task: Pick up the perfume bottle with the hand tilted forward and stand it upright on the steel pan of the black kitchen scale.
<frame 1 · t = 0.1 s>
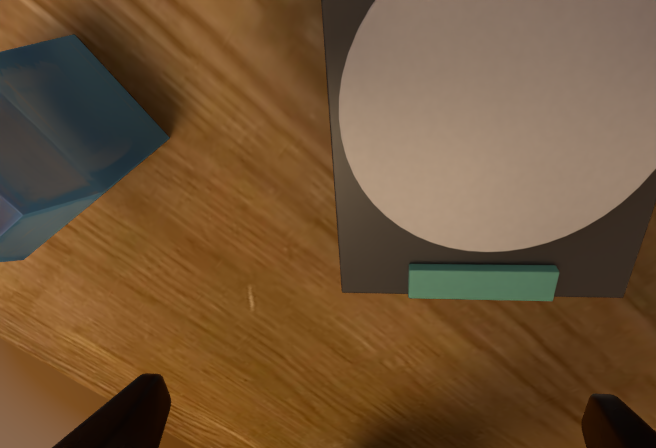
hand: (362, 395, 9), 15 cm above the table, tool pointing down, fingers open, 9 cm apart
kitchen scale: (487, 109, 20), on the table
perfume bottle: (90, 122, 23), on the table
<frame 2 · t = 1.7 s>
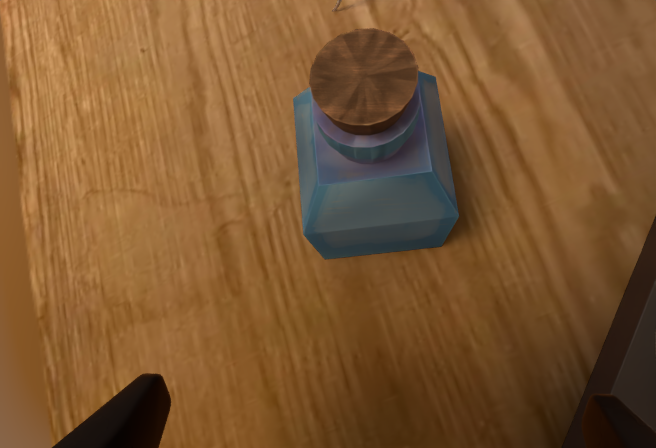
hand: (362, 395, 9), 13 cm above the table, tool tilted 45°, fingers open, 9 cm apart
perfume bottle: (375, 199, 25), on the table
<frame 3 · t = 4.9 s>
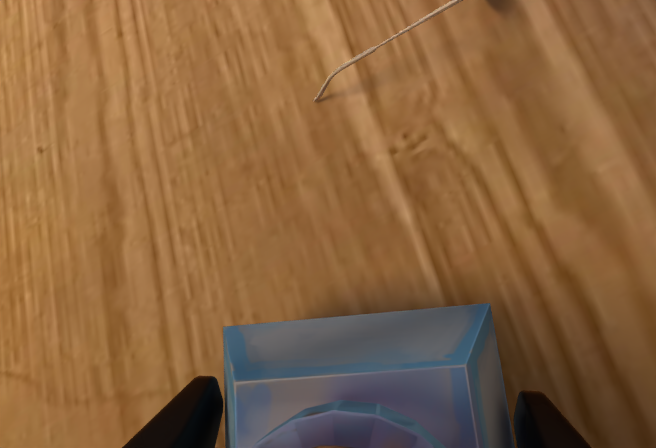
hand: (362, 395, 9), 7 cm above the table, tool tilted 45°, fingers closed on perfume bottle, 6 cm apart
perfume bottle: (374, 413, 16), on the table, touching gripper
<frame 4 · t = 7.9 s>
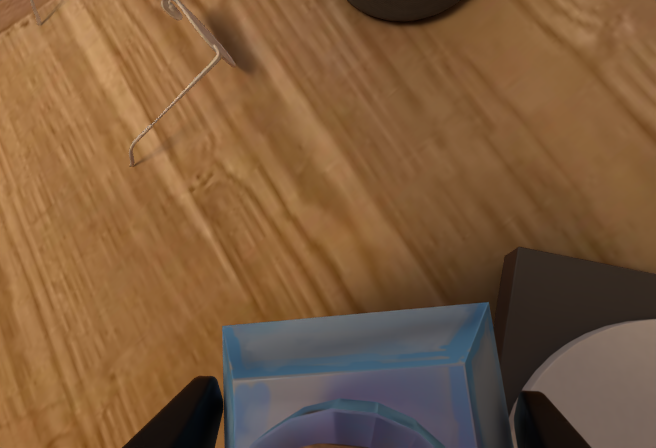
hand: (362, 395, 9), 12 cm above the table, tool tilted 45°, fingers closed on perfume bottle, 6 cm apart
sunglasses: (139, 53, 27), on the table
perfume bottle: (374, 412, 16), point 5 cm above the table, touching gripper
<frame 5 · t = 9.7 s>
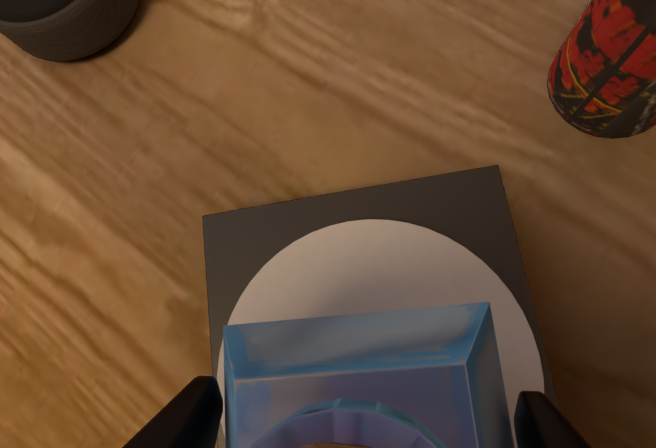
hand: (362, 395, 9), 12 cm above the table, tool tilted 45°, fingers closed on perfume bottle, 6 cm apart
kitchen scale: (377, 387, 21), on the table
perfume bottle: (374, 412, 16), point 5 cm above the table, touching gripper
smart speaker: (84, 9, 29), on the table
deodorant: (607, 86, 23), on the table
when the fingers open (10 cm above the table, at t = 11.2 s): perfume bottle stays where it is, resting on kitchen scale.
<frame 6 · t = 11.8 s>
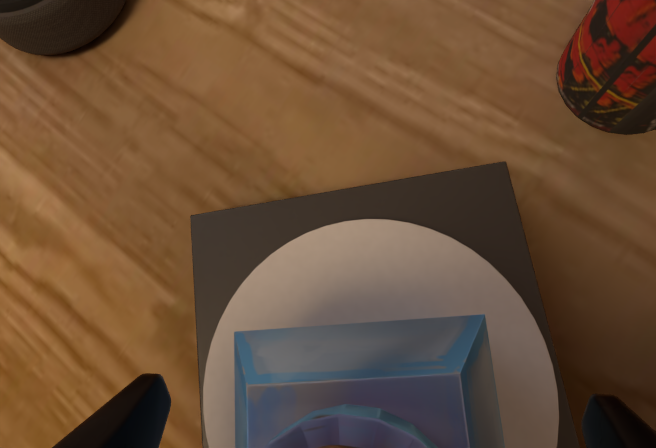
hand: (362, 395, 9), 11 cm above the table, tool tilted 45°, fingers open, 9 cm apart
kitchen scale: (377, 400, 19), on the table
perfume bottle: (375, 414, 16), point 3 cm above the table, touching kitchen scale
smart speaker: (72, 2, 27), on the table
deodorant: (619, 80, 22), on the table
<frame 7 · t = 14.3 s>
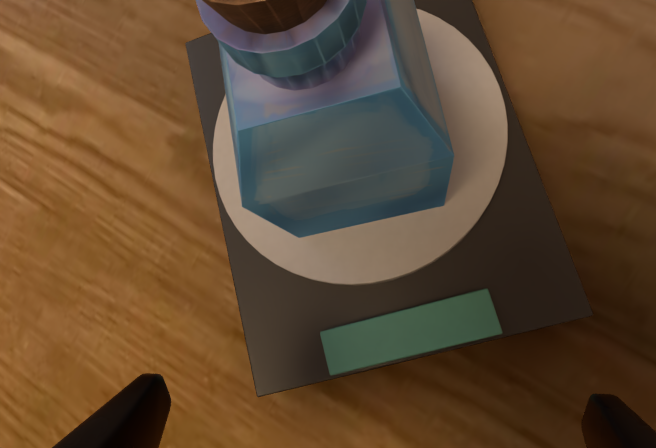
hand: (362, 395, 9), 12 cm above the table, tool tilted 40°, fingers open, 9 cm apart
kitchen scale: (364, 173, 22), on the table
perfume bottle: (355, 155, 19), point 3 cm above the table, touching kitchen scale
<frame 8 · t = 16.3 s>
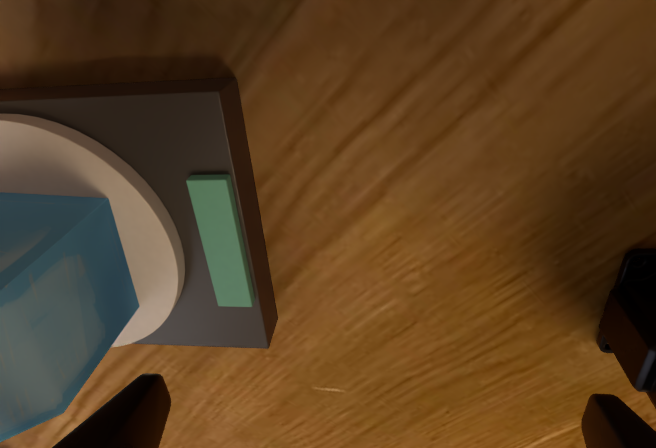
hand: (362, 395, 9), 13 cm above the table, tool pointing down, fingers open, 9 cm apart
kitchen scale: (99, 217, 24), on the table
perfume bottle: (66, 249, 21), point 3 cm above the table, touching kitchen scale
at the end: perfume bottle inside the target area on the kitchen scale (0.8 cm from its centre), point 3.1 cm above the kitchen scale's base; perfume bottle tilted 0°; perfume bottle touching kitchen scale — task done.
